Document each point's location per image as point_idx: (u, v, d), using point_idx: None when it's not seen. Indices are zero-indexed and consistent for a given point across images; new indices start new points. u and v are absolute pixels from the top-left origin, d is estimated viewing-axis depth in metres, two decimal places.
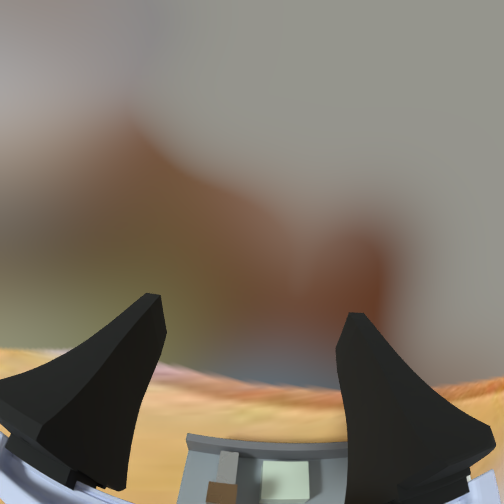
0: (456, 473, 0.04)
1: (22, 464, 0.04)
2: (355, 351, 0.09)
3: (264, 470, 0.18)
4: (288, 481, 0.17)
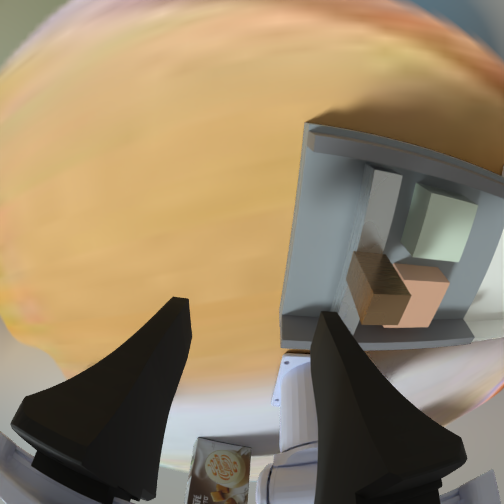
0: (425, 485, 0.04)
1: (22, 464, 0.04)
2: (325, 351, 0.09)
3: (428, 210, 0.13)
4: (449, 233, 0.14)
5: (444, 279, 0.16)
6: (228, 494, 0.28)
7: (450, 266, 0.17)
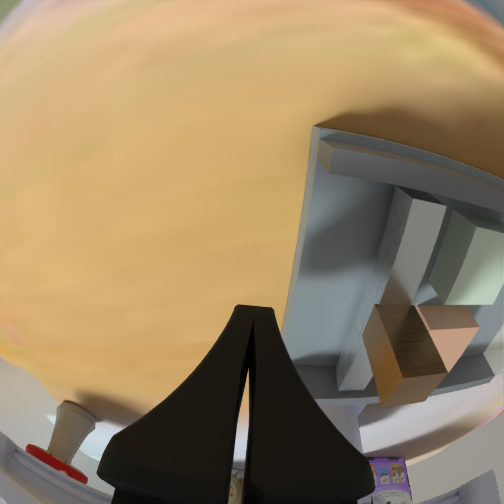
0: None
1: (22, 464, 0.04)
2: (252, 346, 0.09)
3: (470, 249, 0.09)
4: (488, 273, 0.10)
5: (473, 322, 0.12)
6: None
7: None
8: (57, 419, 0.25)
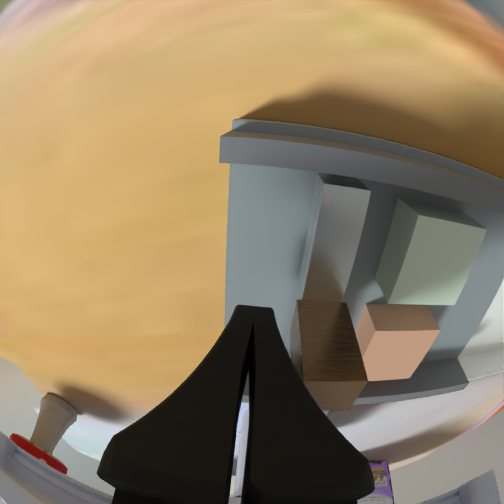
0: None
1: (22, 464, 0.04)
2: (252, 346, 0.09)
3: (413, 240, 0.09)
4: (443, 269, 0.10)
5: (433, 324, 0.12)
6: None
7: None
8: (40, 410, 0.25)
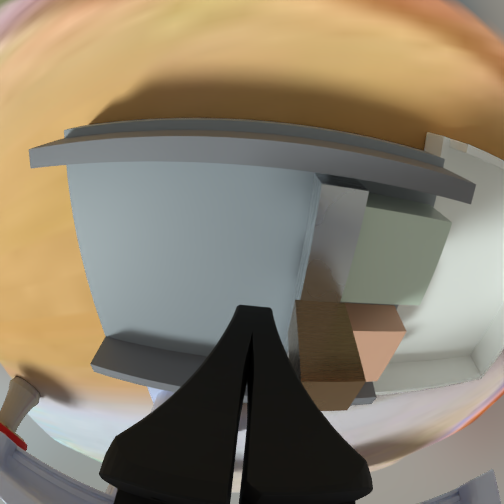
0: None
1: (22, 464, 0.04)
2: None
3: (360, 234, 0.09)
4: (401, 266, 0.10)
5: (397, 325, 0.12)
6: None
7: None
8: (8, 391, 0.26)
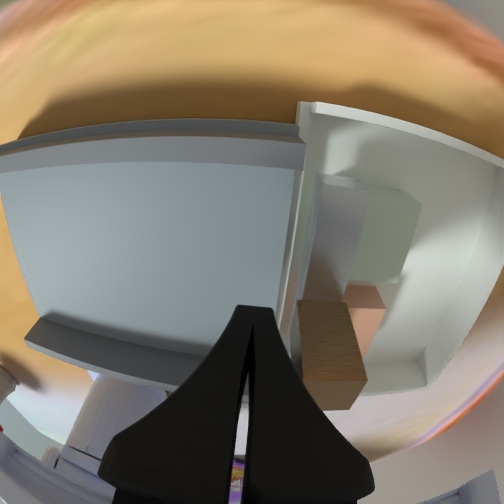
0: None
1: (22, 464, 0.04)
2: (252, 346, 0.09)
3: None
4: (375, 245, 0.11)
5: (378, 303, 0.13)
6: None
7: (180, 285, 0.13)
8: None
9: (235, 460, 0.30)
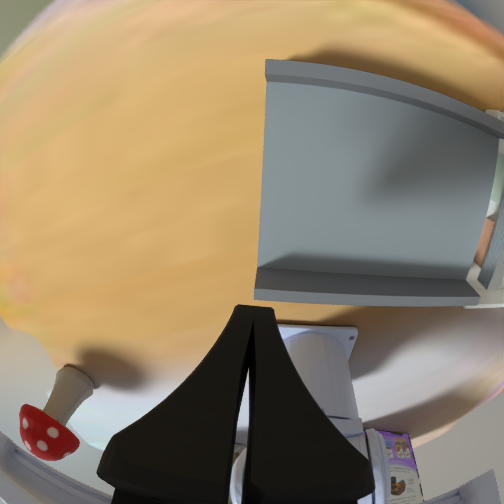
0: None
1: (22, 464, 0.04)
2: (252, 346, 0.09)
3: None
4: None
5: None
6: None
7: (441, 211, 0.15)
8: (55, 383, 0.28)
9: None
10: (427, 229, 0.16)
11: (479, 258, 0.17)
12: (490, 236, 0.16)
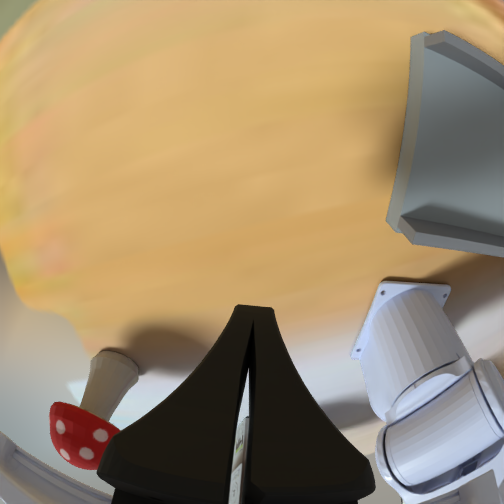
0: None
1: (22, 464, 0.04)
2: (252, 346, 0.09)
3: None
4: None
5: None
6: None
7: None
8: (92, 372, 0.26)
9: None
10: None
11: None
12: None
